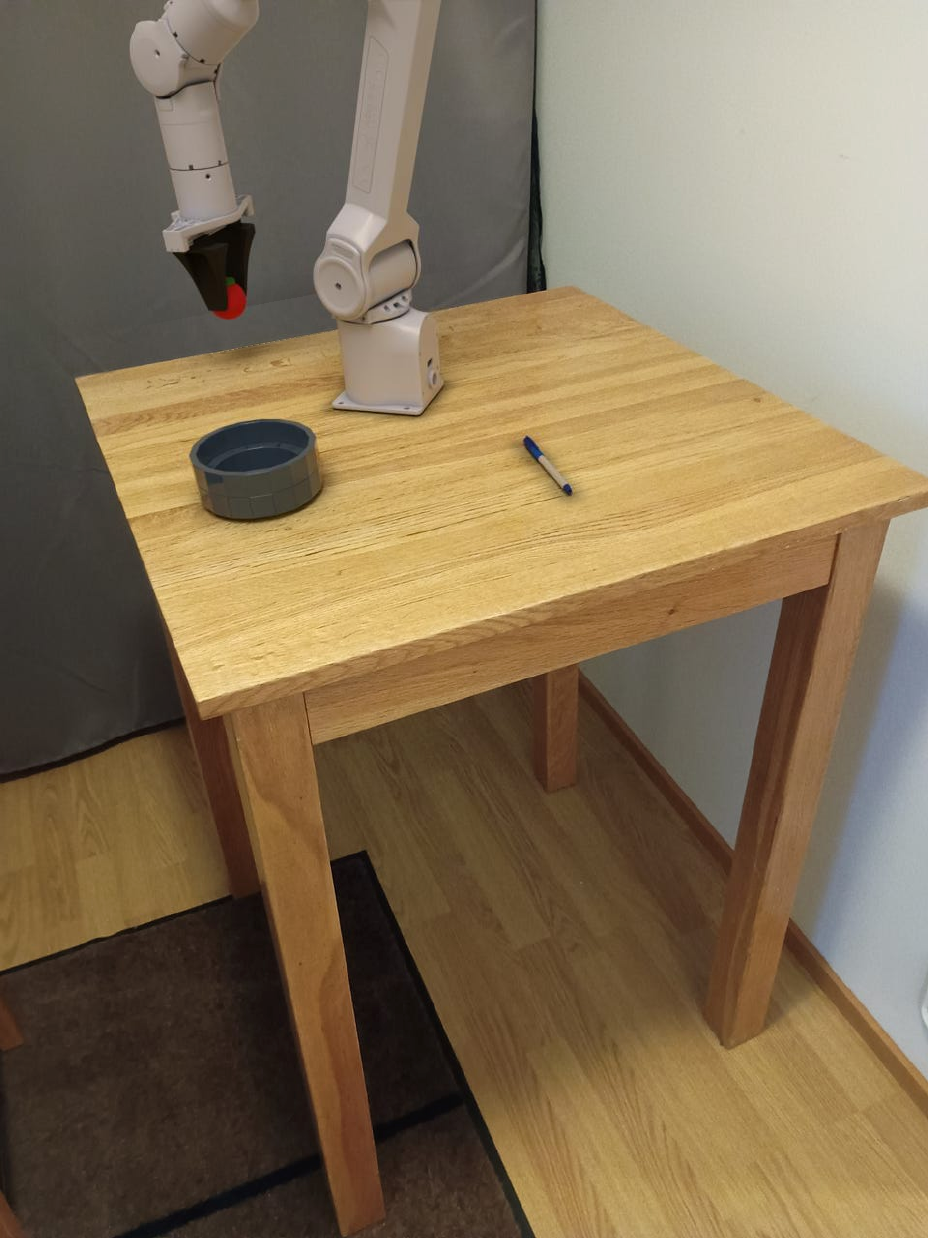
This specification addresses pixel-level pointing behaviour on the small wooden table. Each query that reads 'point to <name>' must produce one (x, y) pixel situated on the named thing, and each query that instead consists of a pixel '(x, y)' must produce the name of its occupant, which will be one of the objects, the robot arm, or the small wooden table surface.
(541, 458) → the ballpoint pen
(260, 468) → the dessert bowl
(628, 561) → the small wooden table surface
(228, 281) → the tomato
